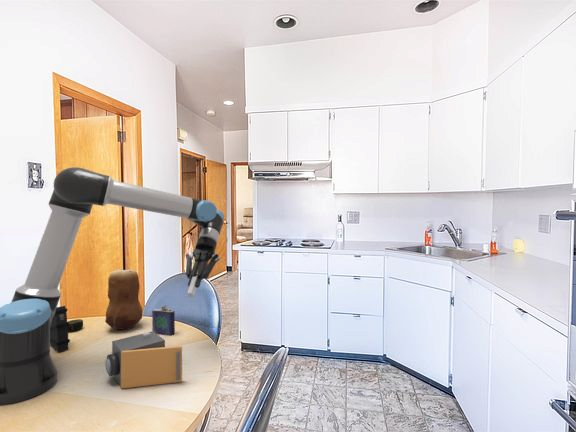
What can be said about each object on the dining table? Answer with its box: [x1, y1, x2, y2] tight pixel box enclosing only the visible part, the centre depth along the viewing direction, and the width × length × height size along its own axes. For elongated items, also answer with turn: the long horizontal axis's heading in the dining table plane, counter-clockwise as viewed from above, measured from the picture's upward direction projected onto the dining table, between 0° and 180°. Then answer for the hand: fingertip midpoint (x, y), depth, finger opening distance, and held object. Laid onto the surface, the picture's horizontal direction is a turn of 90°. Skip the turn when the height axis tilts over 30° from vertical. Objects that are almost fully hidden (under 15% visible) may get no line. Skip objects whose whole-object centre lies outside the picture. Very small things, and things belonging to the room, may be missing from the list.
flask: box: [151, 304, 176, 337], centre depth 125 cm, size 10×3×12 cm, turn 76°
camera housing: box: [104, 330, 166, 387], centre depth 93 cm, size 14×10×11 cm
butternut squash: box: [104, 269, 143, 330], centre depth 131 cm, size 14×13×25 cm
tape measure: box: [67, 318, 84, 332], centre depth 128 cm, size 7×7×4 cm
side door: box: [120, 345, 183, 389], centre depth 87 cm, size 16×2×10 cm, turn 104°
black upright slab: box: [50, 305, 71, 353], centre depth 112 cm, size 4×13×15 cm, turn 50°
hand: (190, 294), depth 106 cm, fingers closed
